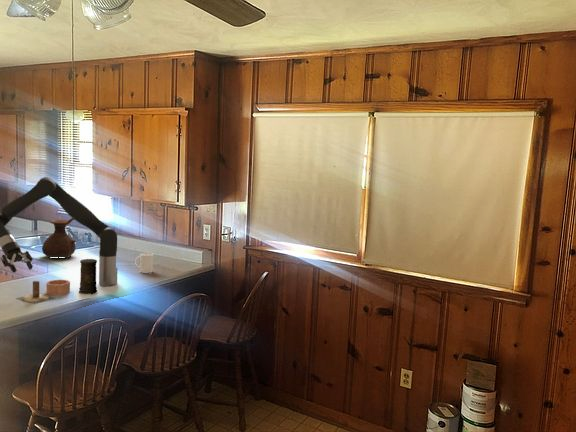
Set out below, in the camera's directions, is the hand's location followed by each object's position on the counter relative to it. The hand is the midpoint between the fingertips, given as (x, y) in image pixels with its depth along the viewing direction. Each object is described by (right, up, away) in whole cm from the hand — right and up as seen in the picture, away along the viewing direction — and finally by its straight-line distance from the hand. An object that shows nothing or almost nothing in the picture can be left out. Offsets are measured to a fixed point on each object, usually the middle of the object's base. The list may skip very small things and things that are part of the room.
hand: (23, 270), depth 238 cm
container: (+27, -14, +14) cm, 34 cm away
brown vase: (-27, -2, +92) cm, 96 cm away
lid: (+8, -14, -3) cm, 16 cm away
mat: (+8, -15, -3) cm, 17 cm away
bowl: (+13, -14, +10) cm, 21 cm away
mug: (+42, -9, +66) cm, 78 cm away
